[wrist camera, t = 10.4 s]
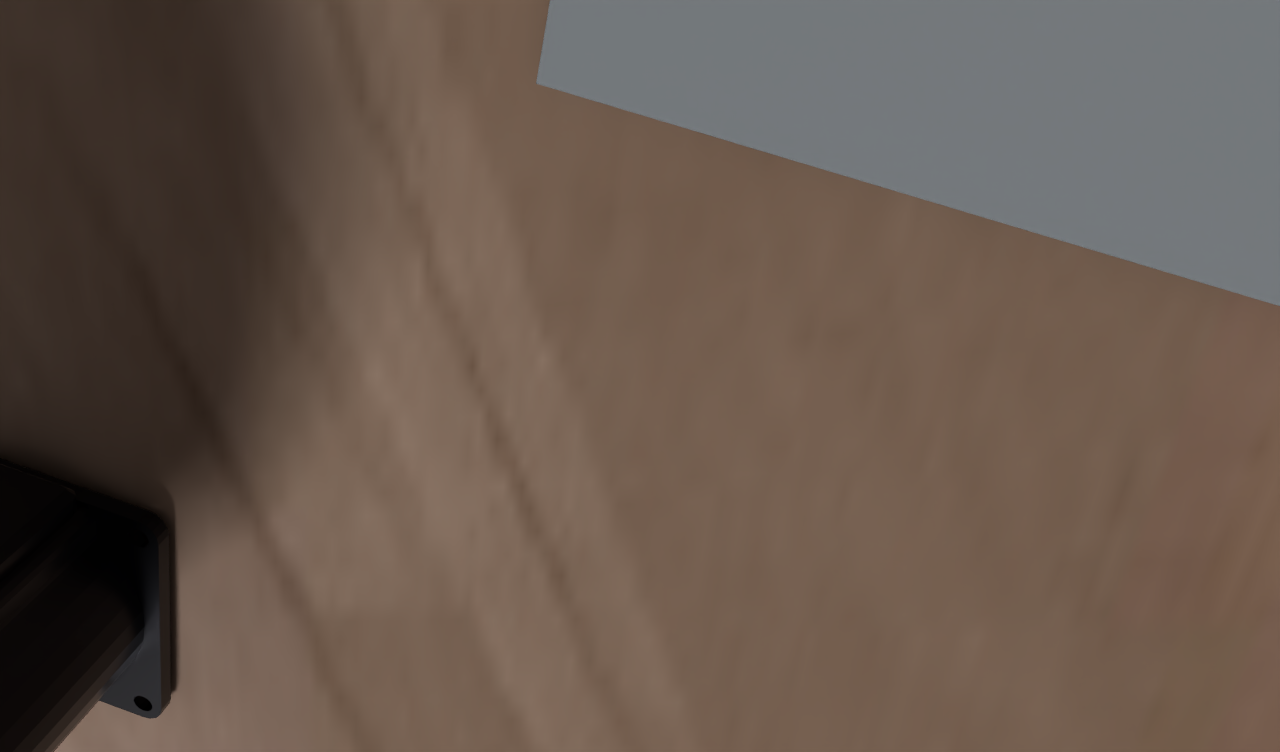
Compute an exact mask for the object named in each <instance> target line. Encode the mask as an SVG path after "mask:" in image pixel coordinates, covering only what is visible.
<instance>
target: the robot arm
mask: <svg viewBox="0 0 1280 752" xmlns="http://www.w3.org/2000/svg"><path fill="white" fill-rule="evenodd" d="M170 699H171V678H170V583H169V533H168V528H167V526H166V525H165V523H164V522H163V520H161V519H160V518H159V517H158V516H157V515H156V514H154V513H152V512H150V511H148V510H145V509H142V508H139V507H136V506H133V505H131V504H128V503H125V502H122V501H119V500H116V499H113V498H111V497H108V496H105V495H102V494H99V493H96V492H94V491H91V490H88V489H85V488H82V487H79V486H76V485H74V484H71V483H68V482H65V481H62V480H59V479H57V478H54V477H51V476H48V475H45V474H42V473H39V472H37V471H34V470H31V469H28V468H25V467H22V466H20V465H17V464H14V463H11V462H8V461H5V460H2V459H0V752H54V751H55V750H56V748H57V747H58V746H59V745H60V744H61V743H62V742H63V741H64V739H65V738H66V737H67V736H68V735H69V734H70V733H71V731H72V730H73V729H74V728H75V727H76V726H77V725H78V724H79V722H80V721H81V720H82V719H83V718H84V717H85V716H86V714H87V713H88V712H89V711H90V710H91V709H92V708H93V707H94V705H95V704H96V703H97V702H98V701H102V702H105V703H107V704H110V705H113V706H115V707H118V708H121V709H124V710H126V711H129V712H132V713H134V714H137V715H140V716H142V717H146V718H156V717H158V716H159V715H160V714H161V713H162V712H163V711H164V709H165V708H166V707H167V706H168V704H169V703H170Z"/></svg>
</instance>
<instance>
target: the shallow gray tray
mask: <svg viewBox="0 0 1280 752" xmlns="http://www.w3.org/2000/svg"><path fill="white" fill-rule="evenodd" d="M536 84H540V85H543V86H546V87H550V88H553V89H556V90H560V91H563V92H566V93H570V94H573V95H576V96H580V97H583V98H586V99H590V100H593V101H596V102H600V103H603V104H606V105H610V106H613V107H617V108H620V109H623V110H627V111H630V112H633V113H637V114H640V115H643V116H647V117H650V118H653V119H657V120H660V121H663V122H667V123H670V124H673V125H677V126H680V127H683V128H687V129H690V130H693V131H697V132H700V133H703V134H707V135H710V136H713V137H717V138H720V139H723V140H727V141H730V142H733V143H737V144H740V145H743V146H747V147H750V148H753V149H757V150H760V151H764V152H767V153H770V154H774V155H777V156H780V157H784V158H787V159H790V160H794V161H797V162H800V163H804V164H807V165H810V166H814V167H817V168H820V169H824V170H827V171H830V172H834V173H837V174H840V175H844V176H847V177H850V178H854V179H857V180H860V181H864V182H867V183H870V184H874V185H877V186H880V187H884V188H887V189H890V190H894V191H897V192H901V193H904V194H907V195H911V196H914V197H917V198H921V199H924V200H927V201H931V202H934V203H937V204H941V205H944V206H947V207H951V208H954V209H957V210H961V211H964V212H967V213H971V214H974V215H977V216H981V217H984V218H987V219H991V220H994V221H997V222H1001V223H1004V224H1007V225H1011V226H1014V227H1017V228H1021V229H1024V230H1027V231H1031V232H1034V233H1037V234H1041V235H1044V236H1048V237H1051V238H1054V239H1058V240H1061V241H1064V242H1068V243H1071V244H1074V245H1078V246H1081V247H1084V248H1088V249H1091V250H1094V251H1098V252H1101V253H1104V254H1108V255H1111V256H1114V257H1118V258H1121V259H1124V260H1128V261H1131V262H1134V263H1138V264H1141V265H1144V266H1148V267H1151V268H1154V269H1158V270H1161V271H1164V272H1168V273H1171V274H1174V275H1178V276H1181V277H1184V278H1188V279H1191V280H1195V281H1198V282H1201V283H1205V284H1208V285H1211V286H1215V287H1218V288H1221V289H1225V290H1228V291H1231V292H1235V293H1238V294H1241V295H1245V296H1248V297H1251V298H1255V299H1258V300H1261V301H1265V302H1268V303H1271V304H1275V305H1278V306H1280V0H550V5H549V10H548V16H547V22H546V28H545V34H544V40H543V46H542V52H541V58H540V64H539V70H538V76H537V82H536Z"/></svg>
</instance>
